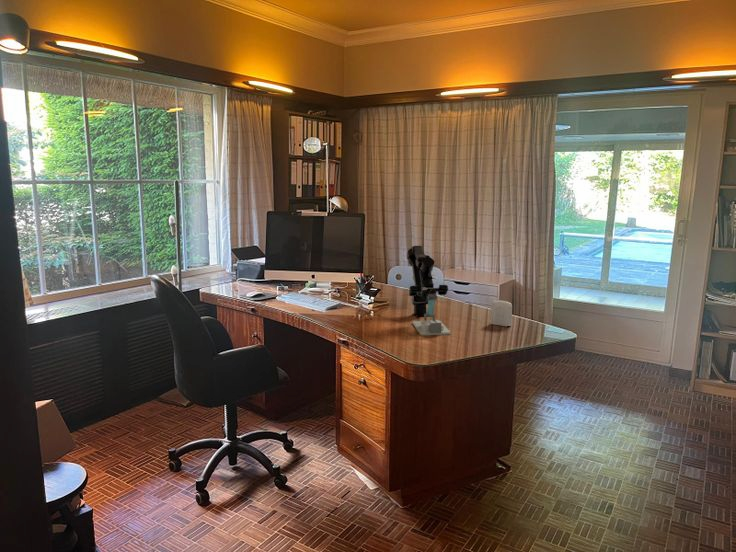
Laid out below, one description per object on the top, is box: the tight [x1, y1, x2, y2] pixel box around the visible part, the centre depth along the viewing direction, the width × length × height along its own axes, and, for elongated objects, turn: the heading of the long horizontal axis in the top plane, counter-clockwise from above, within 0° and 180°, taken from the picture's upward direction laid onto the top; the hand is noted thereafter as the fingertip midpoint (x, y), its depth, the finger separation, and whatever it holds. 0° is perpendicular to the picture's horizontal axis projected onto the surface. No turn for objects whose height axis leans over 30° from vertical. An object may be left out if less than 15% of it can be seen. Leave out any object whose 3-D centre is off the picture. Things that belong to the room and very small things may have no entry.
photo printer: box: [490, 300, 513, 327], centre depth 263 cm, size 10×4×12 cm, turn 56°
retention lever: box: [426, 293, 438, 318], centre depth 258 cm, size 2×4×14 cm, turn 97°
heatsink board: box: [412, 313, 452, 336], centre depth 259 cm, size 22×14×6 cm, turn 6°
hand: (430, 305), depth 258 cm, fingers closed, pressing on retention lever
